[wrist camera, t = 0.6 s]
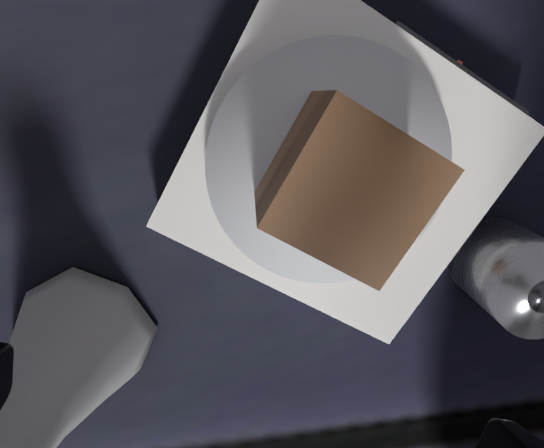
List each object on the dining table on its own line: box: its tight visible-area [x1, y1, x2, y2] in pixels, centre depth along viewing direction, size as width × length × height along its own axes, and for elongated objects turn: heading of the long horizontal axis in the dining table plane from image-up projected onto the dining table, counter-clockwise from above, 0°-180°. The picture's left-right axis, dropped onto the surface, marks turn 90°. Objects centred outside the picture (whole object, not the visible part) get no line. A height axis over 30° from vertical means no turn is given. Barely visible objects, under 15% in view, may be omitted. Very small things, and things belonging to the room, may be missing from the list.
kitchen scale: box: [146, 0, 544, 344], centre depth 18 cm, size 13×12×4 cm
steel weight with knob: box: [448, 218, 544, 339], centre depth 20 cm, size 4×4×5 cm
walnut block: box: [254, 90, 464, 291], centre depth 14 cm, size 4×4×4 cm
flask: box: [0, 267, 158, 448], centre depth 17 cm, size 7×7×10 cm
